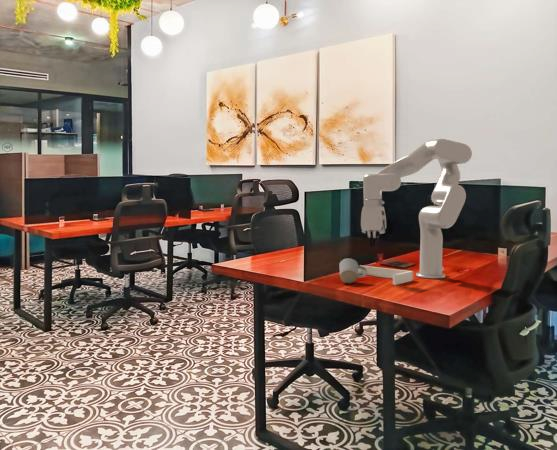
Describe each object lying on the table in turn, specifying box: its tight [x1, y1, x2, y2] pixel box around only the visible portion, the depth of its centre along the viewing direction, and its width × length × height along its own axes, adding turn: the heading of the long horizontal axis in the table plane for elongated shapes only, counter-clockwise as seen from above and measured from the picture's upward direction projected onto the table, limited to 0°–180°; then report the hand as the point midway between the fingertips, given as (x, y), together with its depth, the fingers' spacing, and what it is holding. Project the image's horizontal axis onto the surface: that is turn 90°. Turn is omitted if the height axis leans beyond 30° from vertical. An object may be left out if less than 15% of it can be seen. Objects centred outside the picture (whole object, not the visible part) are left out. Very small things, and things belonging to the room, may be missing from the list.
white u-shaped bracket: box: [358, 264, 414, 286], centre depth 219 cm, size 16×26×4 cm, turn 49°
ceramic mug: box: [338, 258, 367, 284], centre depth 208 cm, size 11×8×8 cm
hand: (373, 246), depth 215 cm, fingers closed
